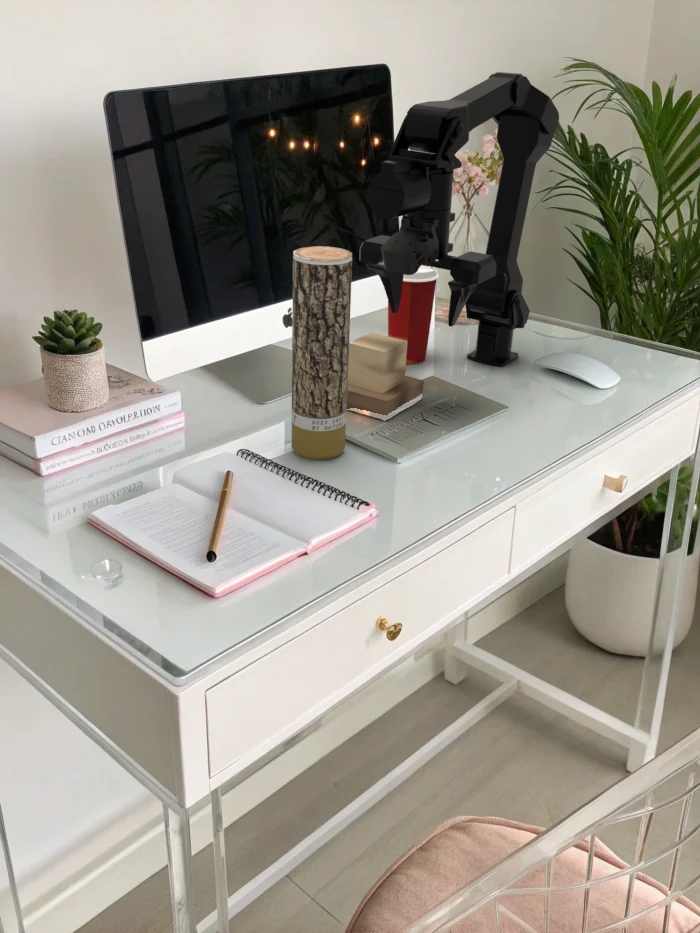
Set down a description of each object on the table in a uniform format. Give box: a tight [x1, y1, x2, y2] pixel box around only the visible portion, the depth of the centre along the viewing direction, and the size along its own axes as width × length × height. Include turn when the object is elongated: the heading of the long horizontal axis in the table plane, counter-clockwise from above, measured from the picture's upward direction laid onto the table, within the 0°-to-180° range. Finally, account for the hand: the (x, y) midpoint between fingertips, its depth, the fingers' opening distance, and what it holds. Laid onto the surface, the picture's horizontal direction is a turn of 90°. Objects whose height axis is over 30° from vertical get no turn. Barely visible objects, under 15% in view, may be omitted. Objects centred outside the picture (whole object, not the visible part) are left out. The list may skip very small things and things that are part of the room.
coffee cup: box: [387, 265, 440, 365], centre depth 145 cm, size 8×8×15 cm
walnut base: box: [347, 375, 425, 416], centre depth 131 cm, size 10×10×3 cm
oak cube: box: [348, 331, 407, 394], centre depth 129 cm, size 6×6×6 cm
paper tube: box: [291, 245, 353, 461], centre depth 111 cm, size 7×7×25 cm
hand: (422, 319), depth 129 cm, fingers open, 9 cm apart
